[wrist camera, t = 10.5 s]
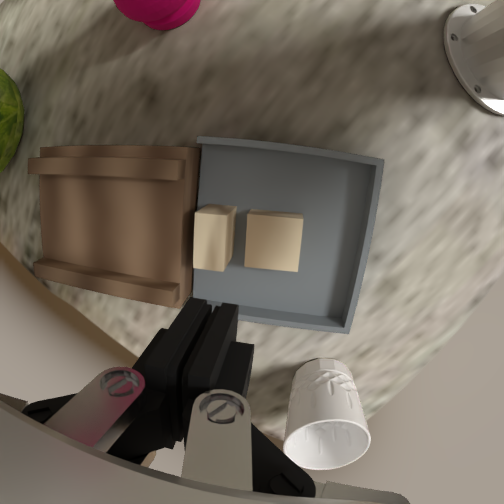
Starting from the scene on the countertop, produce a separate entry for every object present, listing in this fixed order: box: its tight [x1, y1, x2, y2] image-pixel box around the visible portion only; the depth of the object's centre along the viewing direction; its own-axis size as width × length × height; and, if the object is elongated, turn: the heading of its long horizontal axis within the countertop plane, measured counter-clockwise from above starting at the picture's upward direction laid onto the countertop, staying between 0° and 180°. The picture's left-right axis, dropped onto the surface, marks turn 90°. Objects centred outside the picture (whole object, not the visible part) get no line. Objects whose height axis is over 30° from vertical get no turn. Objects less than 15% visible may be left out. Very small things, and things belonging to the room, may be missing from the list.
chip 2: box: [244, 209, 303, 272], centre depth 28 cm, size 4×4×2 cm
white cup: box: [283, 358, 371, 470], centre depth 29 cm, size 8×8×10 cm
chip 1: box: [193, 204, 237, 272], centre depth 27 cm, size 4×4×2 cm
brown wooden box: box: [28, 145, 201, 309], centre depth 28 cm, size 16×14×6 cm
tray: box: [193, 136, 384, 334], centre depth 28 cm, size 15×16×2 cm
